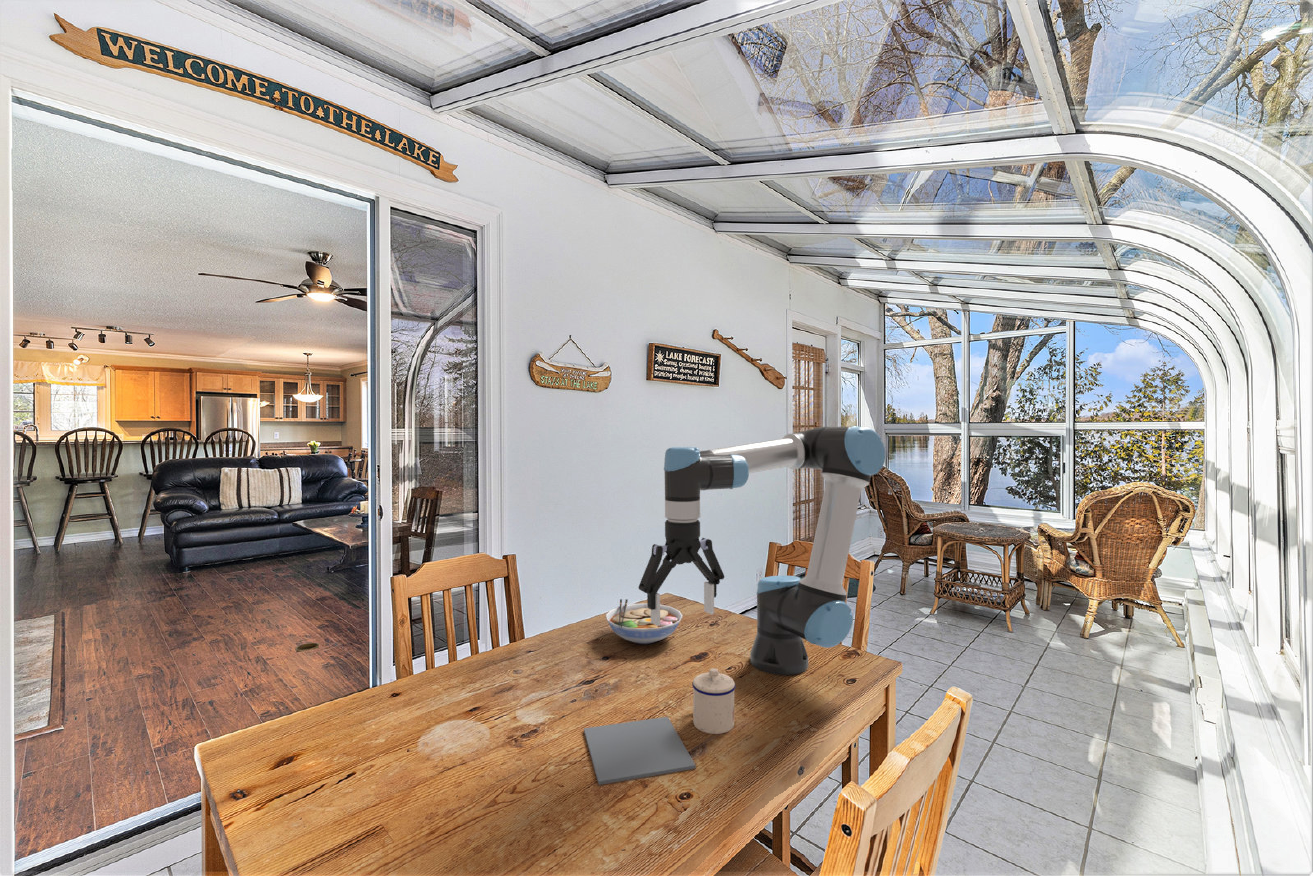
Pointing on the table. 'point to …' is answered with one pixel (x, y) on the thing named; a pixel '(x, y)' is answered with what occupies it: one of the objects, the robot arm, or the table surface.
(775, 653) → the robot arm
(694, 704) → the teacup with lid
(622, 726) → the slate mat
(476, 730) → the table surface
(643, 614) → the ramen bowl
